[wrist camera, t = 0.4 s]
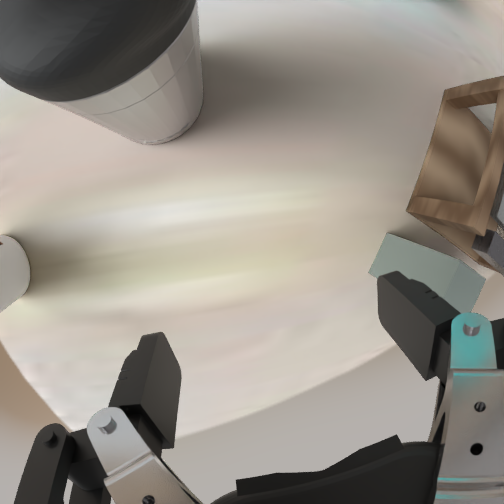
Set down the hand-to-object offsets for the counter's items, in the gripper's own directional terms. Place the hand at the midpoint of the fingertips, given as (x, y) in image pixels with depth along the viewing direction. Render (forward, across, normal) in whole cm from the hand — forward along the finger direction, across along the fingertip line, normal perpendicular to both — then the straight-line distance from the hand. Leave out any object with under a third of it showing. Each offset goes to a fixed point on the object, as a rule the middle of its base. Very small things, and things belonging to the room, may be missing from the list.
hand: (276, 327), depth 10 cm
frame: (+21, -31, +3) cm, 37 cm away
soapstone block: (+20, -16, +10) cm, 27 cm away
